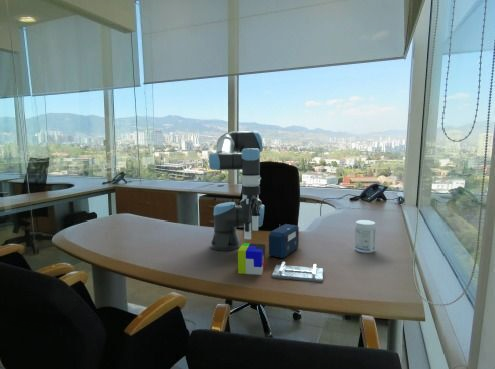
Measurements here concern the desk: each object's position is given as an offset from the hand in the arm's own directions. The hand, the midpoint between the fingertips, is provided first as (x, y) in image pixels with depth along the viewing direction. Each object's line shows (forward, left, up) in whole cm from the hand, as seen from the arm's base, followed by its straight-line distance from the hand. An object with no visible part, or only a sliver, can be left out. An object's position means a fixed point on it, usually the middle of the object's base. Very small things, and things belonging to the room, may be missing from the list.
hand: (251, 234), depth 136 cm
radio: (+11, +25, -16) cm, 32 cm away
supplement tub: (+50, +36, -16) cm, 64 cm away
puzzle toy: (0, 0, -16) cm, 16 cm away
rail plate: (+20, -1, -16) cm, 25 cm away
